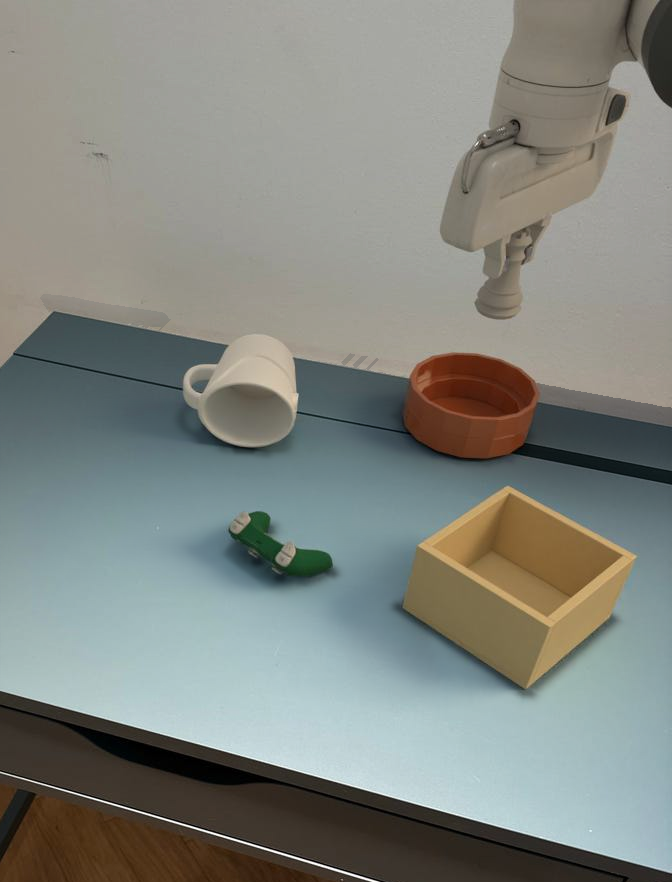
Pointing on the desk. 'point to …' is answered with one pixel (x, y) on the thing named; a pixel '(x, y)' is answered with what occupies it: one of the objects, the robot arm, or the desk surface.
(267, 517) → the green two-tone curved device
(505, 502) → the bin
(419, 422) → the bowl
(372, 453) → the desk surface
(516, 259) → the rook chess piece
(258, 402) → the mug
